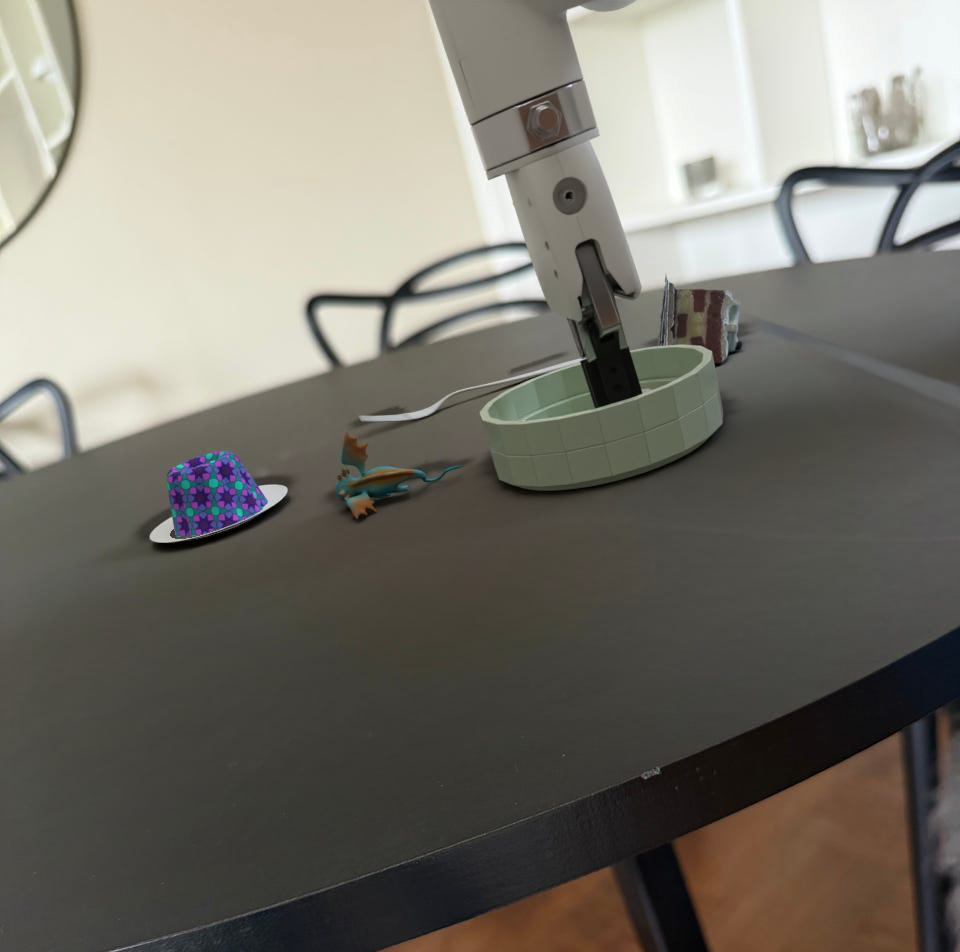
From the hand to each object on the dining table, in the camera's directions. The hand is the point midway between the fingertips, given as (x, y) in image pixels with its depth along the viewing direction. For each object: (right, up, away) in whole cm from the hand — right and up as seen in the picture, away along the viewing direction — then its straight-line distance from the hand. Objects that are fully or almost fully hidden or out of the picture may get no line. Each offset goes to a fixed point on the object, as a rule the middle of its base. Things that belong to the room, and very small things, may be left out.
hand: (620, 408), depth 72 cm
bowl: (-1, -3, +1) cm, 3 cm away
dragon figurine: (-16, -6, +5) cm, 18 cm away
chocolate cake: (+10, +8, +19) cm, 23 cm away
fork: (-10, +8, +31) cm, 33 cm away
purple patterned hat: (-31, -6, +14) cm, 35 cm away
